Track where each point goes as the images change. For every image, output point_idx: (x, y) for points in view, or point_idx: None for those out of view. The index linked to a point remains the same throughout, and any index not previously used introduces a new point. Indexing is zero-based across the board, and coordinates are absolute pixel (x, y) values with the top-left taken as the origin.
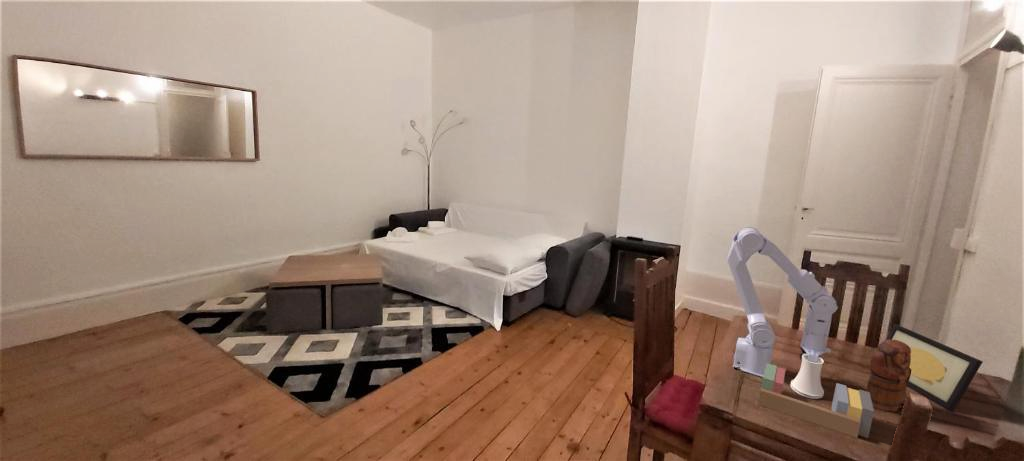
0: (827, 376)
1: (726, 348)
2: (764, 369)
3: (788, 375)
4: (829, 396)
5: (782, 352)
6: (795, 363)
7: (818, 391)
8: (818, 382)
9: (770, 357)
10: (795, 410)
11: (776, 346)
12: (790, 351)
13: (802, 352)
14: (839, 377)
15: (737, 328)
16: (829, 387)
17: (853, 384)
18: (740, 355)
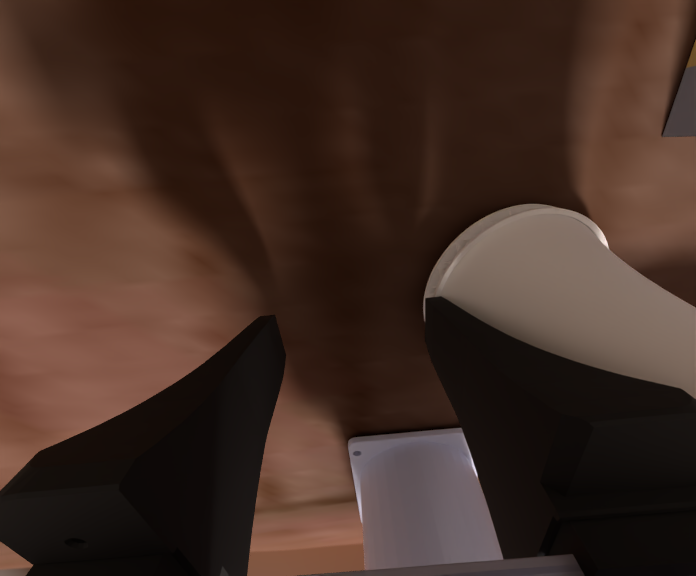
0: (140, 214)
1: (290, 546)
2: (466, 474)
3: (354, 376)
4: (485, 166)
5: (72, 435)
6: (149, 376)
7: (602, 243)
8: (653, 283)
9: (463, 551)
10: None
11: (27, 461)
12: (3, 415)
13: (252, 514)
14: (54, 136)
15: (32, 565)
16: (328, 182)
17: (67, 6)
18: None
